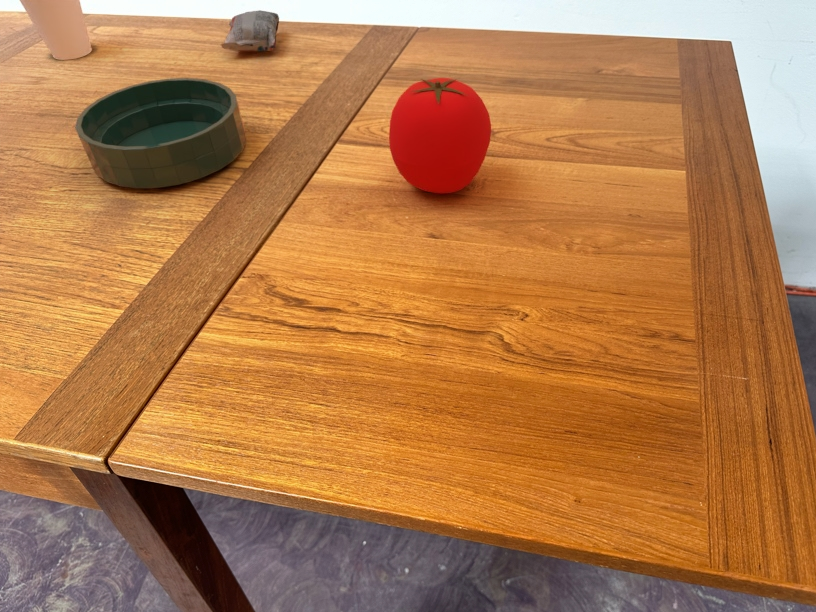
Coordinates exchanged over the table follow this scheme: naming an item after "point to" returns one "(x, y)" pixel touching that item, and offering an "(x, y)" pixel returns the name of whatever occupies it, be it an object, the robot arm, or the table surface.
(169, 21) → the table surface
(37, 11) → the foam cup
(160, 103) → the bowl
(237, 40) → the packaged food
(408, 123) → the tomato
